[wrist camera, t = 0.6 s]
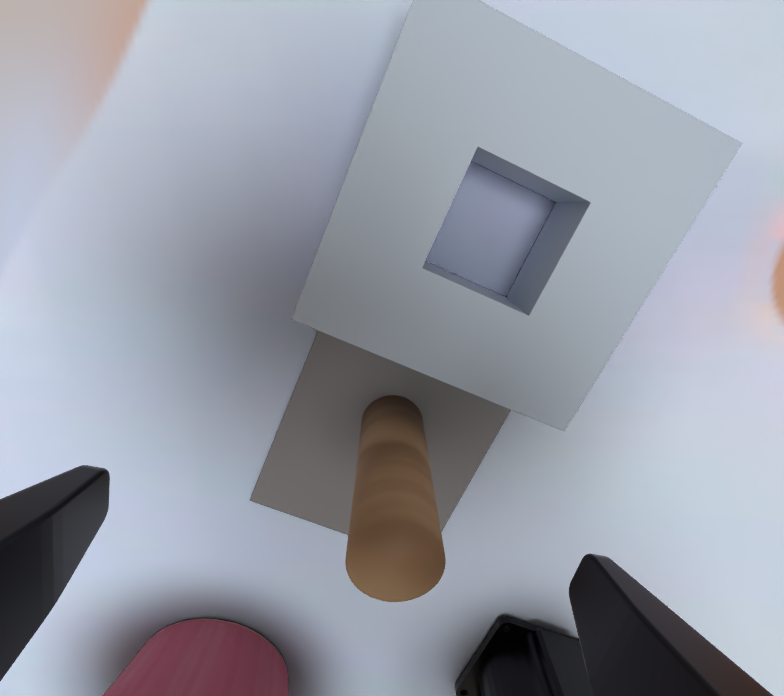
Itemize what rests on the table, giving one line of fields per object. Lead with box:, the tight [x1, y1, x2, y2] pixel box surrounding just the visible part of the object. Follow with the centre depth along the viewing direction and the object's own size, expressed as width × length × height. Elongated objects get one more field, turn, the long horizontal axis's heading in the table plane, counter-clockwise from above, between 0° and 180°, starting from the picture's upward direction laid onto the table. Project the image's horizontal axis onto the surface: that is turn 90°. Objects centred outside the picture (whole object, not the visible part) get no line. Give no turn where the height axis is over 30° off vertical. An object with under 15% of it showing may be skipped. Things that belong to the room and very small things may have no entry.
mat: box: [250, 330, 511, 535], centre depth 22 cm, size 14×10×1 cm
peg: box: [346, 395, 445, 602], centre depth 18 cm, size 3×3×9 cm
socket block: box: [291, 0, 743, 431], centre depth 18 cm, size 12×12×4 cm
